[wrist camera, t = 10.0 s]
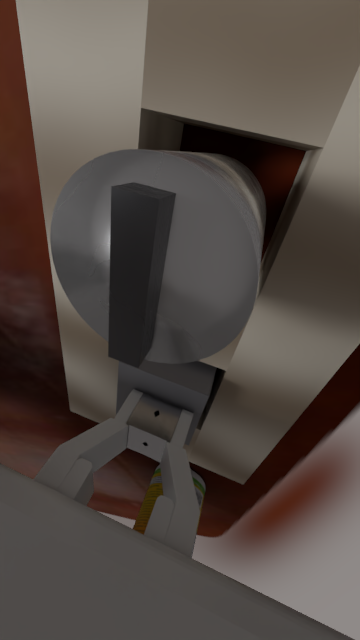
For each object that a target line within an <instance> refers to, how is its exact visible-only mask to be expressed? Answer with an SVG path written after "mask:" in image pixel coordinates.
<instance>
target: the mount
mask: <svg viewBox="0 0 360 640" xmlns="http://www.w3.org/2000/svg"><path fill="white" fill-rule="evenodd" d="M16 6H17V14H18V21H19V29H20V36H21V44H22V52H23V59H24V67H25V74H26V82H27V89H28V97H29V104H30V112H31V119H32V127H33V134H34V142H35V149H36V157H37V165H38V172H39V180H40V187H41V195H42V202H43V210H44V217H45V225H46V232H47V240H48V247H49V255H50V262H51V270H52V277H53V285H54V293H55V300H56V308H57V315H58V323H59V330H60V338H61V345H62V353H63V360H64V368H65V375H66V383H67V390H68V398H69V405H70V411H72V412H74V413H77V414H79V415H81V416H84V417H86V418H88V419H91V420H93V421H95V422H98V423H102V422H104V421H106V420H108V419H109V418H113V419H114V418H115V416H116V403H117V384H118V366H119V361H118V360H115V359H113V358H110V357H108V341H106V340H105V339H104V338H102V337H101V336H100V335H99V334H97V333H96V332H95V331H94V330H93V329H92V328H91V327H90V326H89V325H88V324H87V323H86V322H85V321H84V320H83V319H82V318H81V316H80V315H79V314H78V312H77V311H76V310H75V308H74V307H73V305H72V304H71V302H70V301H69V299H68V298H67V296H66V294H65V292H64V290H63V288H62V286H61V284H60V281H59V279H58V276H57V273H56V270H55V266H54V263H53V258H52V252H51V242H50V231H51V221H52V215H53V210H54V207H55V204H56V201H57V198H58V197H59V195H60V193H61V191H62V189H63V187H64V186H65V184H66V183H67V182H68V180H69V179H70V178H71V176H72V175H73V174H74V173H75V172H76V171H77V170H79V169H80V168H81V167H82V166H83V165H85V164H86V163H88V162H89V161H91V160H93V159H94V158H96V157H99V156H101V155H104V154H106V153H109V152H114V151H119V150H124V149H147V150H164V151H180V146H181V140H182V133H183V127H184V124H188V125H192V126H197V127H201V128H206V129H210V130H215V131H219V132H224V133H228V134H233V135H237V136H242V137H246V138H251V139H255V140H260V141H264V142H269V143H273V144H278V145H282V146H287V147H291V148H295V149H300V150H304V151H306V153H305V155H304V158H303V160H302V163H301V165H300V168H299V170H298V173H297V175H296V178H295V180H294V183H293V185H292V188H291V190H290V193H289V195H288V198H287V200H286V203H285V205H284V207H283V210H282V212H281V215H280V217H279V220H278V222H277V225H276V227H275V230H274V232H273V235H272V237H271V240H270V242H269V245H268V247H267V250H266V252H265V255H264V257H263V260H262V262H261V264H260V272H259V280H258V288H257V294H256V299H255V303H254V306H253V309H252V312H251V315H250V317H249V319H248V321H247V323H246V324H245V326H244V328H243V329H242V330H241V332H240V333H239V334H238V336H237V337H236V338H235V339H234V340H233V341H232V342H231V343H230V344H229V345H227V346H226V347H225V348H223V349H222V350H221V351H219V352H217V353H215V354H213V355H212V356H210V357H207V358H204V359H201V360H198V361H200V362H203V363H206V364H209V365H211V366H214V367H217V368H218V371H217V373H216V376H215V378H214V380H213V384H212V387H211V391H210V395H209V398H208V400H207V402H206V405H205V407H204V410H203V412H202V415H201V417H200V420H199V422H198V424H197V427H196V429H195V432H194V434H193V437H192V439H191V441H190V444H189V446H188V445H186V444H184V446H183V449H185V450H186V453H187V457H188V461H189V462H191V463H194V464H196V465H198V466H201V467H203V468H205V469H208V470H210V471H212V472H215V473H217V474H219V475H222V476H224V477H226V478H229V479H231V480H234V481H236V482H238V483H241V484H244V483H245V482H246V481H247V480H248V478H249V477H250V476H251V475H252V474H253V472H254V471H255V470H256V469H257V467H258V466H259V465H260V464H261V463H262V461H263V460H264V459H265V458H266V457H267V455H268V454H269V453H270V452H271V450H272V449H273V448H274V447H275V446H276V444H277V443H278V442H279V441H280V440H281V438H282V437H283V436H284V435H285V434H286V432H287V431H288V430H289V429H290V427H291V426H292V425H293V424H294V423H295V421H296V420H297V419H298V418H299V417H300V415H301V414H302V413H303V412H304V410H305V409H306V408H307V407H308V406H309V404H310V403H311V402H312V401H313V400H314V398H315V397H316V396H317V395H318V393H319V392H320V391H321V390H322V389H323V387H324V386H325V385H326V384H327V383H328V381H329V380H330V379H331V378H332V376H333V375H334V374H335V373H336V372H337V370H338V369H339V368H340V367H341V366H342V364H343V363H344V362H345V361H346V359H347V358H348V357H349V356H350V355H351V353H352V352H353V351H354V350H355V349H356V347H357V346H358V345H359V344H360V0H16Z"/></svg>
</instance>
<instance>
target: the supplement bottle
mask: <svg viewBox="0 0 360 640" xmlns="http://www.w3.org/2000/svg"><path fill="white" fill-rule="evenodd" d="M190 470H191V469H190ZM191 474H192V479H193V483H194V487H195V491H196V496H197V500H198V504H199V509H200V515H201V510H202V505H203V500H204V495H205V483H204V481H203V479H202V478H201V477H200V476H199V475H198V474H197V473H196V472H194V471H193V470H191ZM161 495H162V496H164V495H163V486H162V477H161V468H160V465H159V466H158V467H157V468H156V470H155V472H154V474H153V477H152V480H151V482H150V485H149V488H148V490H147V493H146V496H145V498H144V501H143V504H142V506H141V509H140V511H139V514H138V517H137V519H136V522H135V525H134V527H133V530H135V531H137V532H139V533H141V534H143V535H144V533H145V530H146V527H147V524H148V522H149V519H150V516H151V513H152V511H153V508H154V505H155V503H156V500H157V497H159V496H161ZM199 519H200V516H199ZM198 524H199V521H198ZM197 529H198V525H197ZM196 534H197V530H196ZM195 539H196V535H195ZM195 539H194V544H195ZM194 544H193V549H194ZM193 549H192V553H191V558H192V554H193Z"/></svg>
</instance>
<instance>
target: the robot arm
mask: <svg viewBox="0 0 360 640" xmlns="http://www.w3.org/2000/svg"><path fill="white" fill-rule="evenodd" d="M192 418H193V413H192V412H189V411H186V410H184V409H182V408H180V407H177V406H174V405H172V404H169V403H167V402H164V401H161V400H159V399H156V398H154V397H151V396H149V395H147V394H144V393H142V392H140V391H137V390H135V389H133V390H132V391H131V392H130V394H129V396H128V397H127V399H126V400H125V402H124V404H123V405H122V407H121V408H120V410H119V412H118V413H117V415H116V416H115V418H114V419H113V418H109V419H108V420H106V421H104V422H102V423H100V424H98V425H97V426H95V427H93V428H91V429H89V430H87V431H85V432H84V433H82V434H80V435H78V436H76V437H74V438H72V439H71V440H69V441H67V442H65V443H63V444H61V445H60V446H58V448H57V449H56V450H55V452H54V453H53V454H52V456H51V457H50V458H49V460H48V461H47V462H46V464H45V465H44V466H43V468H42V469H41V470H40V471H39V473H38V474H37V475H36V477H35V478H34V479H31V478H29V477H27V476H25V475H23V474H21V473H19V472H17V471H15V470H13V469H11V468H9V467H7V466H5V465H3V464H1V463H0V640H354V639H352V638H350V637H348V636H346V635H344V634H342V633H340V632H338V631H336V630H334V629H332V628H330V627H328V626H326V625H324V624H322V623H320V622H318V621H316V620H314V619H312V618H310V617H308V616H306V615H304V614H302V613H300V612H298V611H296V610H294V609H292V608H290V607H288V606H286V605H284V604H282V603H280V602H278V601H276V600H274V599H272V598H270V597H268V596H266V595H264V594H262V593H260V592H258V591H256V590H254V589H252V588H250V587H248V586H246V585H244V584H242V583H240V582H238V581H236V580H234V579H232V578H230V577H228V576H226V575H223V574H221V573H220V572H218V571H216V570H214V569H212V568H210V567H208V566H206V565H204V564H202V563H200V562H198V561H195V560H193V559H192V558H191V553H192V549H193V544H194V539H195V535H196V530H197V525H198V521H199V516H200V509H199V504H198V500H197V496H196V491H195V487H194V483H193V479H192V474H191V470H190V466H189V461H188V457H187V453H186V450H185V449H183V446H184V443H185V440H186V436H187V433H188V430H189V427H190V424H191V421H192ZM126 448H129V449H131V450H134V451H136V452H139V453H141V454H143V455H146V456H148V457H150V458H152V459H154V460H156V461H158V462H160V468H161V477H162V486H163V495H164V496H162V495H161V496H159V497H157V500H156V503H155V505H154V508H153V511H152V513H151V516H150V519H149V522H148V524H147V527H146V530H145V533H144V535H143V534H141V533H139V532H137V531H135V530H133V529H131V528H129V527H127V526H125V525H123V524H121V523H119V522H117V521H115V520H113V519H111V518H109V517H107V516H105V515H103V514H101V513H99V512H97V511H95V510H93V509H91V508H89V507H87V504H88V502H89V500H90V498H91V496H92V494H93V492H94V487H93V473H94V472H95V471H96V470H98V469H99V468H101V467H102V466H103V465H105V464H106V463H107V462H109V461H110V460H111V459H113V458H114V457H115V456H117V455H118V454H120V453H121V452H122V451H124V450H125V449H126Z"/></svg>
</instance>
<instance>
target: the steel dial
mask: <svg viewBox="0 0 360 640" xmlns="http://www.w3.org/2000/svg"><path fill="white" fill-rule="evenodd" d="M265 224H266V201H265V197H264V193H263V190H262V188H261V185H260V184H259V182H258V180H257V178H256V177H255V176H254V174H253V173H252V172H251V171H250V170H249V169H248V168H247V167H246V166H245V165H244V164H242V163H241V162H240V161H238V160H236V159H234V158H232V157H229V156H226V155H223V154H216V153H199V152H181V151H164V150H147V149H124V150H119V151H114V152H109V153H106V154H104V155H101V156H99V157H96V158H94V159H93V160H91V161H89V162H88V163H86V164H85V165H83V166H82V167H81V168H80V169H79V170H77V171H76V172H75V173H74V174H73V175H72V176H71V178H70V179H69V180H68V182H67V183H66V184H65V186H64V187H63V189H62V191H61V193H60V195H59V197H58V198H57V201H56V204H55V207H54V210H53V215H52V221H51V231H50V242H51V252H52V258H53V263H54V266H55V270H56V273H57V276H58V279H59V281H60V284H61V286H62V288H63V290H64V292H65V294H66V296H67V298H68V299H69V301H70V302H71V304H72V305H73V307H74V308H75V310H76V311H77V312H78V314H79V315H80V316H81V318H82V319H83V320H84V321H85V322H86V323H87V324H88V325H89V326H90V327H91V328H92V329H93V330H94V331H95V332H96V333H97V334H99V335H100V336H101V337H102V338H104V339H105V340H106V341H108V357H110V358H113V359H115V360H118V361H121V362H123V363H126V364H128V365H131V366H134V367H136V368H139V366H140V365H141V363H142V362H143V360H144V359H145V360H148V361H153V362H158V363H167V364H181V363H190V362H194V361H198V360H201V359H204V358H207V357H210V356H212V355H213V354H215V353H217V352H219V351H221V350H222V349H223V348H225V347H226V346H227V345H229V344H230V343H231V342H232V341H233V340H234V339H235V338H236V337H237V336H238V334H239V333H240V332H241V330H242V329H243V328H244V326H245V324H246V323H247V321H248V319H249V317H250V315H251V312H252V309H253V306H254V303H255V299H256V294H257V288H258V280H259V272H260V264H261V256H262V248H263V240H264V232H265Z"/></svg>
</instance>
